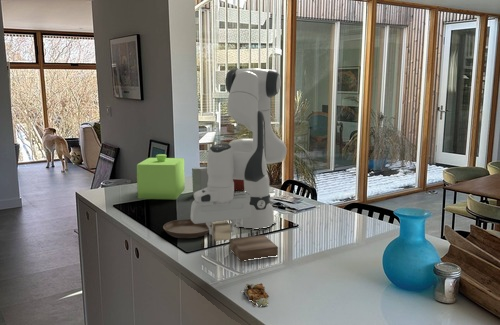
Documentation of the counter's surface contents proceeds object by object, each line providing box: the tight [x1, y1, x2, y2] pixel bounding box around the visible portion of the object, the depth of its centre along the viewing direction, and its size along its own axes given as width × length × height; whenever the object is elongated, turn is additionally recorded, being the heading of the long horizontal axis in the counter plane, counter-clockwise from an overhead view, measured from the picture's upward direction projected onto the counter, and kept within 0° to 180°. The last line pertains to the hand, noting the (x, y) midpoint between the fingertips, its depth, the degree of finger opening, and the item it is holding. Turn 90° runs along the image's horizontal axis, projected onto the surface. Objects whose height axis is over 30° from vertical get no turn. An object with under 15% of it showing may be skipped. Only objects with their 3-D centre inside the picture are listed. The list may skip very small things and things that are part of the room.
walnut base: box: [229, 234, 279, 262], centre depth 168 cm, size 14×14×4 cm
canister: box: [136, 153, 186, 200], centre depth 260 cm, size 25×21×23 cm
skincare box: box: [191, 166, 208, 196], centre depth 260 cm, size 8×7×16 cm
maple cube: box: [211, 221, 231, 242], centre depth 153 cm, size 5×5×5 cm
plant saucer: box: [162, 218, 212, 239], centre depth 192 cm, size 21×21×3 cm
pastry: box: [240, 282, 269, 307], centre depth 133 cm, size 7×12×4 cm, turn 23°
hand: (221, 233), depth 153 cm, fingers closed on maple cube, 5 cm apart
